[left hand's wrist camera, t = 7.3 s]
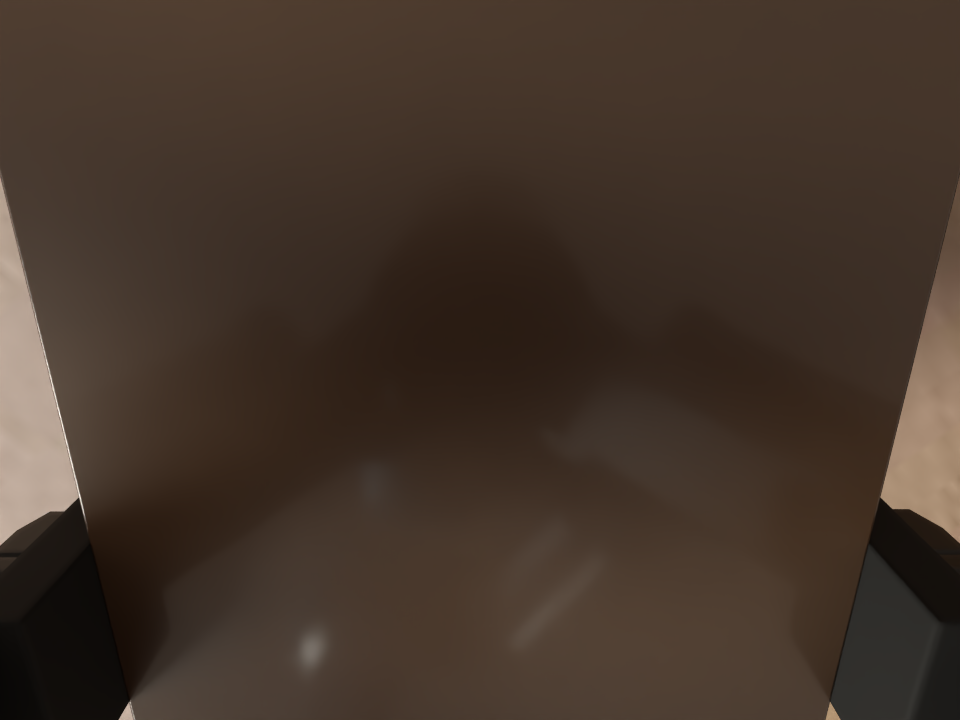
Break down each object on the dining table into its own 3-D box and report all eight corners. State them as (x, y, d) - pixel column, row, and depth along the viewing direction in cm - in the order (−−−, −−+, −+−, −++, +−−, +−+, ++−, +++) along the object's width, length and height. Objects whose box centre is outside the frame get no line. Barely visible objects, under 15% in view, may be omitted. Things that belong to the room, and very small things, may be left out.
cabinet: (234, -236, 14) (-287, -976, 4) (724, -235, 14) (1246, -973, 4) (307, 472, 19) (151, 800, 10) (651, 472, 19) (807, 800, 10)
